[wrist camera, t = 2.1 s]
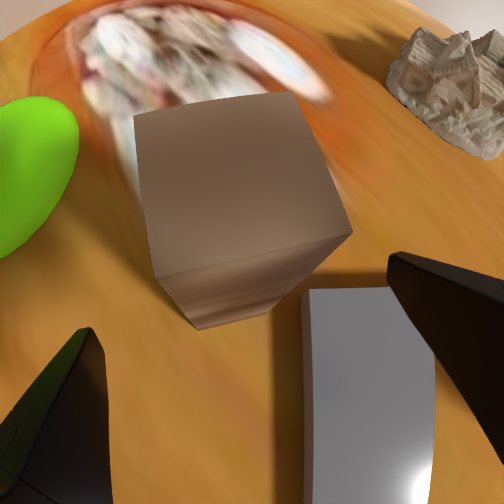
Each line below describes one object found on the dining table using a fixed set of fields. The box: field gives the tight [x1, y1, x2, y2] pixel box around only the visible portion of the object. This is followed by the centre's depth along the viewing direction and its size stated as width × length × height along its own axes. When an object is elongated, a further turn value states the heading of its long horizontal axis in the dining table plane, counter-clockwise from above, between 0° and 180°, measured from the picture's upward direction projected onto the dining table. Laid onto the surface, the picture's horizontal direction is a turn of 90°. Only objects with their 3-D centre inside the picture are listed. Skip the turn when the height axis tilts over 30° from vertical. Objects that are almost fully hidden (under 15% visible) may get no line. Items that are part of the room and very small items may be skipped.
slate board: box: [300, 287, 435, 504], centre depth 16 cm, size 18×8×2 cm, turn 1°
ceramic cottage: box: [386, 27, 504, 160], centre depth 21 cm, size 16×16×15 cm
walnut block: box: [133, 91, 353, 331], centre depth 13 cm, size 4×4×13 cm
